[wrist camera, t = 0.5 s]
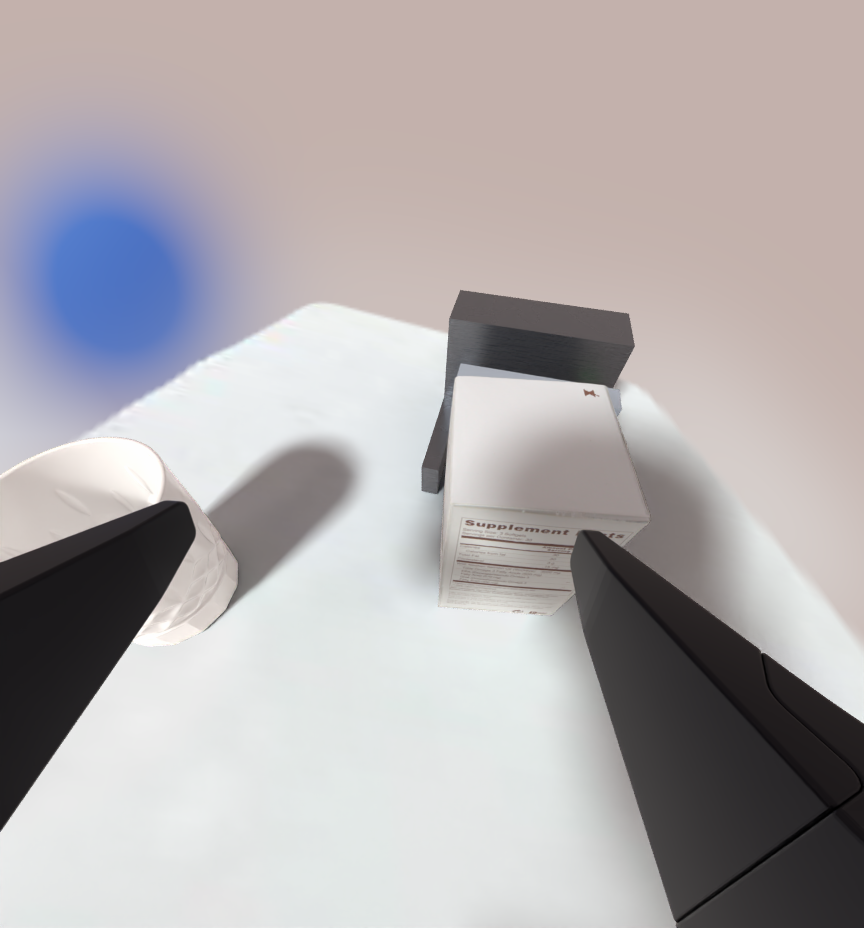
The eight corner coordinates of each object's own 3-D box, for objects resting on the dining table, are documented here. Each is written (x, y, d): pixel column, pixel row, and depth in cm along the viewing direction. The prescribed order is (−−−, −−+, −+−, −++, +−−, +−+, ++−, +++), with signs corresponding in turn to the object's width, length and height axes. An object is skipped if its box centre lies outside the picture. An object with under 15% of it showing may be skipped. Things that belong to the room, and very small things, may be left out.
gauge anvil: (584, 525, 26) (654, 431, 19) (421, 490, 28) (422, 389, 20) (582, 416, 33) (632, 314, 26) (451, 393, 35) (460, 290, 27)
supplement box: (441, 508, 27) (453, 368, 17) (541, 516, 27) (613, 380, 17) (433, 610, 23) (444, 502, 13) (554, 621, 22) (661, 520, 12)
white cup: (261, 530, 26) (190, 433, 18) (230, 654, 21) (114, 597, 13) (144, 535, 25) (18, 438, 17) (85, 663, 20) (-126, 610, 13)
